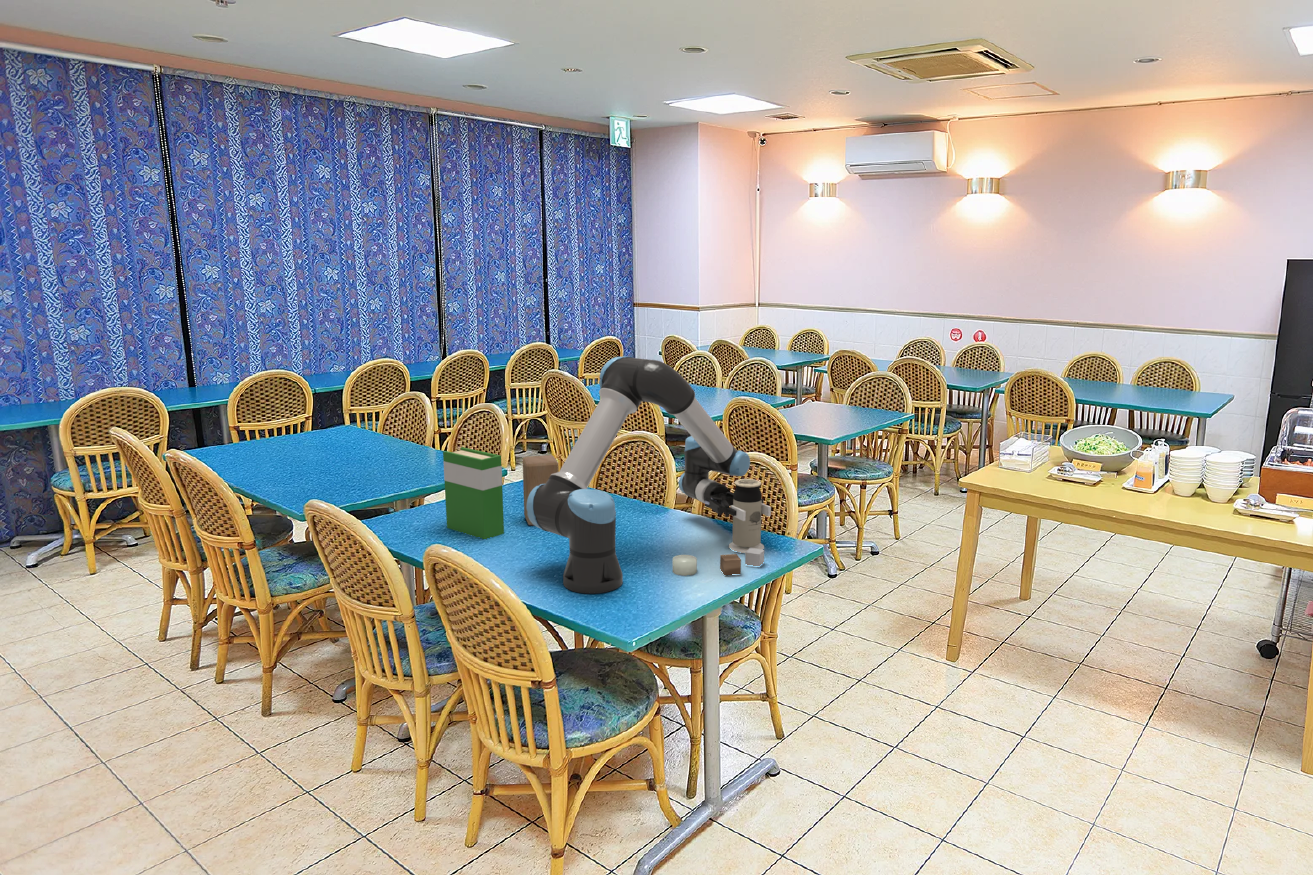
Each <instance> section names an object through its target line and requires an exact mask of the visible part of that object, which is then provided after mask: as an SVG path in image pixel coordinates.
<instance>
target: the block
mask: <svg viewBox="0 0 1313 875" xmlns="http://www.w3.org/2000/svg"><path fill="white" fill-rule="evenodd" d="M559 471H560V469H559V462H558V460H557V459H556V457H555V456H554V455H553V454H545V455H532V456H531V455H529V456H524V457H523V458H522V480H523V481H522V484H523V513H524V515H523V516H524V517H525V520H526V522H527V525H528V526H534V525H533V524H532V523H531V521H530V520H529V518H528V515H527V513H528V511H527V509H526V506H527V499H528V496H529V494H530V492H531V491H532V490H533V488H535V487H536V486H539V485H540V484H546V482H547V481H548V479H549V477H550V476H551V474H554V473H558V472H559Z"/></svg>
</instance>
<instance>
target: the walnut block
mask: <svg viewBox="0 0 1313 875" xmlns="http://www.w3.org/2000/svg"><path fill="white" fill-rule="evenodd" d="M719 556H720V557H719V558H720V559H719V565H720V566H719V570H720V569H721V571H722V572H723V574H724V575H732V574H742V572H741V571H742V559H741V557H739V555H738V553H731V554H730V553H729V554H719ZM721 571H720V572H721ZM722 572H721V573H722ZM723 574H722V575H723ZM724 575H723V576H724Z"/></svg>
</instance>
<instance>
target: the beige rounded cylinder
mask: <svg viewBox="0 0 1313 875" xmlns="http://www.w3.org/2000/svg"><path fill="white" fill-rule="evenodd" d="M697 572H698V558H697V557H696V556H694V555H691V554H679V555H675V556H673V557H672V573H673V574H674V575H676V576H681V577H682V576H684V577H686V576H687V575H690V576H694V575H695V574H697ZM687 577H688V576H687Z"/></svg>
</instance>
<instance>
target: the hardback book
mask: <svg viewBox="0 0 1313 875" xmlns="http://www.w3.org/2000/svg"><path fill="white" fill-rule="evenodd" d="M459 448H460V450H456V451H452V452H451V451H447V450H444V451H442V455H443V456H442V457H443V458H442V460H443V478H444V497H445V498H444V500H445V515H446V528H447V529H449V530H453V531H455V532H459V533H462V532H463V533H462V534H465V533H466V535H467V536H468V535H469V536H471V535H472V536H471V537H474V536H475V537H474V538H477V537H480V538H479V539H481V538H482V539H481V540H484V539H486V540H488V539H487V538H489V539H491V538H490V537H492V538H494V537H497V536H500V535H501V536H502V535H504V534H505V521H504V520H505V519H504V494H503V472H502V471H503V468H502V455H499V454H495V453H491V452H488V451H487V452H486V451H482V450H477V449H472V448H468V447H463V446H461V447H459Z"/></svg>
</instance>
